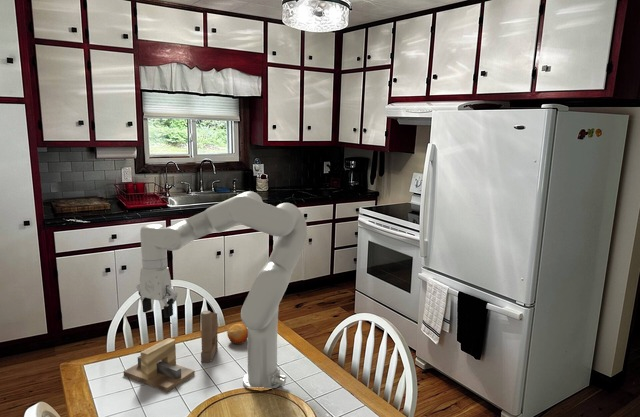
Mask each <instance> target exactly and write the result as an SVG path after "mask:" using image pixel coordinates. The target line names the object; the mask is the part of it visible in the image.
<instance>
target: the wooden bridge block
mask: <svg viewBox="0 0 640 417" xmlns="http://www.w3.org/2000/svg"><path fill="white" fill-rule="evenodd" d="M176 353H177V351H176V339H174V338H171V337H168V338H166V339H164V340H161V341H160V342H157V343H156V344H154V345H152V346H150V347H148V348H145V349H143V350H142V351H140V356H141V372H142V378H143V379H146V380H150V379H152V378H154V377H155V376H157V362H158V361H160V360H161V361H162V362H165V363H167V364H170V365H173V366H174V365H177V356H176V355H177V354H176Z"/></svg>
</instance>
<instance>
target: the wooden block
mask: <svg viewBox="0 0 640 417" xmlns="http://www.w3.org/2000/svg"><path fill="white" fill-rule="evenodd" d="M200 330H201V332H200V333H201V335H200V336H201V337H200V338H201V352H200V362H201V363H212V361H213V360H214V357H215V355H216V352H217V350H218V348H219V347H218V346H219V344H218V339H219V338H218V313H217V312H211V311H210V310H203V311H201V312H200Z"/></svg>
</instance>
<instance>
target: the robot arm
mask: <svg viewBox="0 0 640 417" xmlns="http://www.w3.org/2000/svg"><path fill="white" fill-rule="evenodd" d="M238 225H242V226H244V227H247V228H250V229H253V230H254V231H255V230H256V231H258V232H261V233H264V234H267V235H269V236H273V237H278V239H276V243H275V244H274V246H273V249H272V252H271V253H270V256H269V258H268V260H266V263H265V264H264V265H263V267H262V268H261V269H260V270H259V272H258V274H257V276H256V277H255V278H254V280H253V283H252V285H251V287H250V290H249V292H248V294H247V296H246V297H245V300H244V302H243V305H242V306H241V309H240V319H241V322H242V324H244V325H245V326H246V327H247V329H248V337H247V373H246V374H244V376H243V378H242V384H243V386H244V387H245V388H246V387H264V388H275V389H276V388H278V387H279V386H285V385H286V383H287V382H286V380H287V375H284V374H282V373H281V369H280V368H278V320H279V305H280V303H281V301H282V299H283V296H284V295H285V293H286V291H287V288H288V285H289V284H290V282H291V277H292V274H293V273H294V270H295V267H297V264H298V262H299V259H300V257H301V255H302V252H303V249H304V248H305V244H306V241H307V236H308V227H307V221H306V218H305V216H304V214H303V213H302V211H301V210H300V209H299V207H297V206H296V205H295V204H293V203H290V202H283V203H279V204H277V205H276V206H275V205H272V204H268V203H266V202H264V201H263V199H262V197H261V195H260V194H258V193H257V192H254V191H253V190H252V191H251V190H249V191H243V192H242V193H239V194H237V195H236V196H232V197H230V198H228V199H225V200H224V201H222V202H219V203H216V204H214V205H211V206H210V207H208V208H206V209H204V211H202V212H200V213H196V214H194V215H193V216H190V217H188V218H186V219H183V220H181V221H179V222H176V223H174V224H172V225H169V226H167V227H165V226H164V225H162V224H159V223H151V224H146V225H143V226H142V227H140V230H139V231H140V233H139V234H140V248H141V264H142V266H141V267H140V271H139V284H137V285H136V289H137V291H138V295H139V297H140V300H141V302H142V303H141V305H142V312H143V313H147V312H150V311H151V310H152V309H153V308H152V307H153V306H152V300H153V301H162V303H163V304H164V306H163V317H164V318H165V319H168V318H170V317H172V316H174V308H173V305H174V304H175V302H176V301H177V297H178V292H177V291H176V290H175V289H174V288H172V287H173V286H172V279H171V274H170V270H169V267H168V254H167V252H168V251H172V252H173V251H178V250H180V249H182V248H184V247H185V246H186V245H188V244H189V243H191V242H193V241H195V240H198V239H200V238H202V237H205V236H207V235H209V234H213V233H218V234H219V233H222V232H225V231H227V230H229V229H232V228H234V227H237V226H238Z"/></svg>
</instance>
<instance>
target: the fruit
mask: <svg viewBox="0 0 640 417" xmlns="http://www.w3.org/2000/svg"><path fill="white" fill-rule="evenodd" d="M226 333H227V338H228V340H229V341H230V342H231V343H233V344H238V345H242V344H245V343H246V342H247V341H248V328H247V327H246V326H245V325H244V324H243V323H235V324H233V325H231V326H230V327H229V328H228V329H227V332H226Z"/></svg>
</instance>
